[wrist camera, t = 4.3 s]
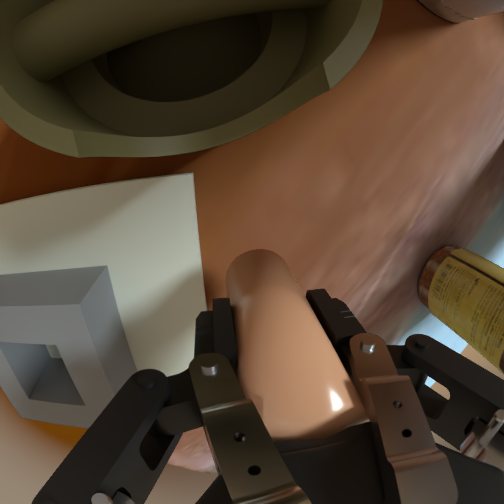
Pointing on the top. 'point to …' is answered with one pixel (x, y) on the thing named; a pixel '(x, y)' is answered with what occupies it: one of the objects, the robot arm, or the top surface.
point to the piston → (169, 69)
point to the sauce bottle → (467, 299)
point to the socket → (96, 293)
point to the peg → (287, 353)
